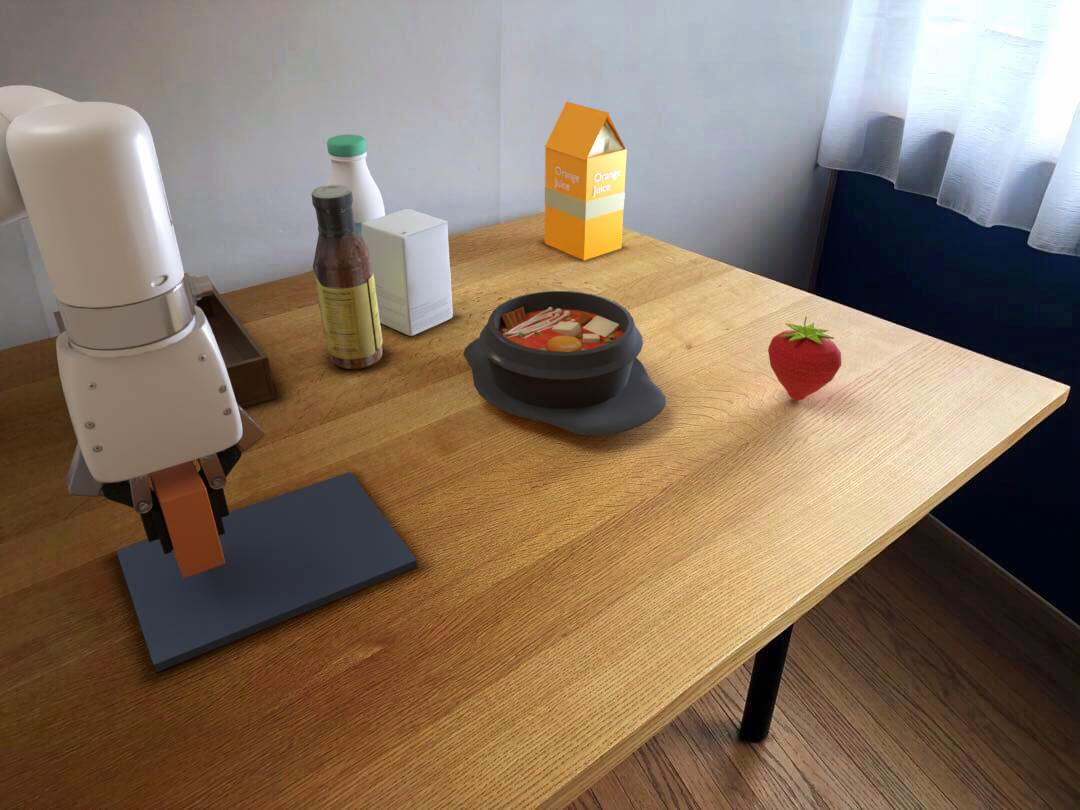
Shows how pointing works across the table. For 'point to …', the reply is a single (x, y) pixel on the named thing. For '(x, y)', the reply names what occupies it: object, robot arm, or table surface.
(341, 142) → the milk bottle
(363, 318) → the sauce bottle
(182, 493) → the block
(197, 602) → the mat
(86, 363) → the robot arm
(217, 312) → the tray
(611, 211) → the orange juice
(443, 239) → the white packaging box
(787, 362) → the strawberry
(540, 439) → the table surface
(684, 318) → the table surface
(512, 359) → the casserole
